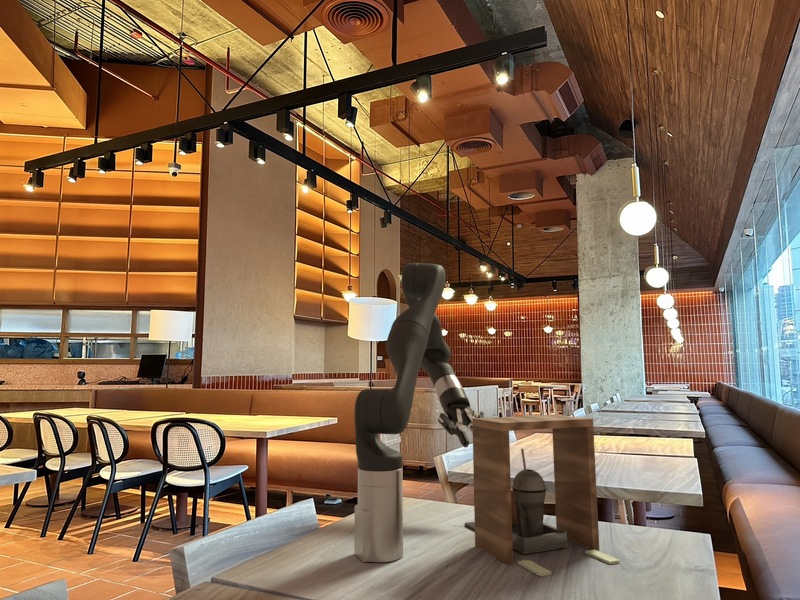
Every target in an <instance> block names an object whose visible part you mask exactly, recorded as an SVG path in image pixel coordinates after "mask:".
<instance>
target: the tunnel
mask: <svg viewBox="0 0 800 600" xmlns="http://www.w3.org/2000/svg"><path fill="white" fill-rule="evenodd" d="M472 426H473V434H472V457H473V461H472V463H473V464H472V467H473V505H474V506H473V509H474V510H473V511H474V522H475V531H474V546H475V547H476V548H478V549H479V550H481V551H483V552H485V553H487V554H488V555H490V556H492V557H494V558H495V559H497V560H499V561H500V562H502V563H504V564H505V565H508V564H513V563H514V555H513V554H514V550H513V549H514V548H513V543H512V510H511V488H512V484H511V481H512V480H511V454H510V453H511V451H510V432H511V431H512V432H515V431H516V432H517V431H529V430H531V431H532V430H551V429H552V452H553V453H552V454H553V475H554V480H553V481H554V496H555V497H554V501H555V524H556V525H555V528H557V529H560V530H562V531H564V532H567V541H568V540H569V541H571V542H573V543H576V544H578V545H580V546H582V547H584V548H587V549H589V550H594V549H595V550H597V551H599V550H600V534H599V532H600V531H599V512H598V511H599V510H598V495H597V493H598V492H597V474H596V471H597V470H596V455H595V450H596V449H595V435H594V433H595V431H594V418H589V417H581V416H570V415H562V414H547V415H546V414H545V415H544V414H542V415H541V414H540V415H524V416H523V415H521V416H519V415H518V416H501V417H500V416H497V417H496V416H495V417H484V418H475V417H473V418H472Z"/></svg>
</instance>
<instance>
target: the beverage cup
mask: <svg viewBox="0 0 800 600" xmlns="http://www.w3.org/2000/svg"><path fill="white" fill-rule="evenodd" d="M520 451H521V458H522V465H523V470H521V471H519V472H518V473H517V474H516V475H515V476H514V478H513V481H512V486H511V488H512V490H513V495H514V499H515V504H516V513H517V522H518V531H519V534H520V535H522V536H524V537H527V536H535V535H542V534H543V523H544V514H545V512H544V509H545V499H546V495H547V494H546V492H547V487H546V483H545V481H544V479H543V476H542V475H541V474H540V473H539V472H538V471H536V470H534V469H530V468H528V469H527V463H526V458H525V452H524V448H520Z"/></svg>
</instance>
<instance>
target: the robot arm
mask: <svg viewBox="0 0 800 600" xmlns="http://www.w3.org/2000/svg"><path fill="white" fill-rule="evenodd" d="M401 271H402V272H401V277H400V278H401V279H400V281H401V283H400V284H401V285H400V286H401V290H402V293H403V295H404V299H405V300H406V303H407V306H408V308H406V309H405V310H404V311H403V312H401V314H399V315H398V316H397V317H396V318H395V319H394V321H393V322H392V324H391V327H390V330H389V333H388V336H387V339H386V341H385V348H386V353H387V357H388V358H389V361H390V363H391V364H392V367H393V368H394V371H395V374H396V382H395V385H394V386H393V388H364V389H362V390H361V391H359V393H358V394H357V396H356V399H355V404H354V430H355V431H354V432H355V452H356V453H355V454H356V458H357V504H355V505H354V542H353V543H354V544H353V545H354V546H353V547H354V555H355V556H357V558H359V559H360V560H361V562H363V563H367V562H369V563H371V562H372V563H387V562H392V561H396V560H399V559H400V558H402V557H403V555H404V515H403V514H404V509H403V506H404V505H403V503H404V502H403V501H404V498H403V497H404V495H403V494H404V493H403V492H404V490H403V488H404V487H403V482H404V479H403V456H402V454H401V452H399V451H398V450H396V449H393V448H391V447H389V446H388V445H387V444H385V443H384V442H383V441H382V440H381V439H380V436H379V435H399V434H401V433H403V432H404V431H405V429H407V426H408V424H409V421H410V417H411V412H412V408H413V401H414V397H415V396H414V395H415V390H416V384H417V380H418V376H419V372H420V368H421V369H422V370H423V371H424V372H425V373H426V374H427V375H428V377H429V378H430V380H431V382H432V385H433V387H434V390H435V393H436V396H437V399H438V400H439V403H440V405H441V408H442V411H443V412H440V413H439V416H438V418H437V422H438V423H439V424H440V425H441V426H442V428H444V430H445V431H446V432H447V433H448V434H449V435H450V436H454V435H455V436H456V437H457V438H458V440H459V443H460V445H462V446H463V448H468V447H469V445H470V441H469V438H468V436H467V433H466V431H465V430H464V427H465V428H466V430H467V431H469V432H470V433H471V434H472V435H473V426H472V418H485V412H484V411H482V410H481V411H479V412H476V411H475V410H474V408H473V407H472V406H471V403H470V401H469V397H468V395H467V394H466V392H465V389H464V388H463V386H462V384H461V382H460V380H459V379H458V377H457V374H456V373H455V371H454V369H453V366H452V365H450V364H449V363H448V362H449V361H450V360H451V358H452V352H451V349H450V347H449V345H448V343H447V342H446V341H445V339H444V336H443V330H442V324H441V320H440V319H439V316H438V315H437V314H436V312H437V308H438V306H439V303H440V301H441V298H442V296H443V292H444V289H445V285H446V277H447V276H446V270H445V268H444V267H443V266H442V265H441V264H436V263H423V262H409V263H406V264H405V265H404V266H403V269H402V270H401Z"/></svg>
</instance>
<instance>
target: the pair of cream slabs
mask: <svg viewBox="0 0 800 600" xmlns="http://www.w3.org/2000/svg"><path fill="white" fill-rule="evenodd" d="M584 553H585V554H586V555H588V556H590V557H592V558H594V559H597V560H599V561H601V562H603V563H605V564H608V565H614V564H615V565H616V564H620V563H621V561H620V559H617V558H615V557H614V556H611V555H609V554H606V553H604V552H601V551H599V550H595V549H594V550H592V549H589V550H588V549H587V550H585V551H584ZM517 564H518V565H519V566H521V567H523V568H525V569H526V570H528V571H530V572H531V573H533V574H535V575H537V576H539V577H545V576H551V575H552V571H551V570H549V569H547V568H545V567H543V566H541V565H539V564H537V563H536V562H534V561H532V560H530V559H524V560H518V562H517Z"/></svg>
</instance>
